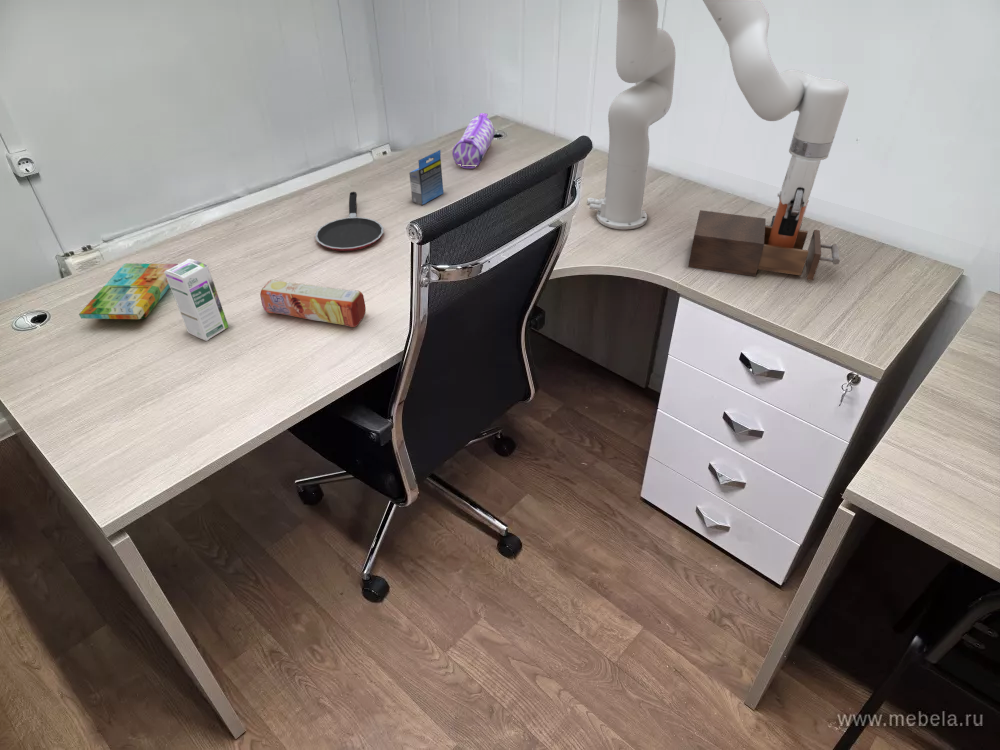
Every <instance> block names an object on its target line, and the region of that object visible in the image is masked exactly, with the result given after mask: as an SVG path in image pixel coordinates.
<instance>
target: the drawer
mask: <svg viewBox="0 0 1000 750" xmlns="http://www.w3.org/2000/svg"><path fill="white" fill-rule="evenodd" d="M771 229H772V226H771V225H765V238H764V246H763V250H762V254H761V258H760V262H759V265H758V269H757V270H760V271H767V272H773V273H780V274H786V275H787V274H788V275H793V276H800V277H801V276H802V274H803V271H804V268H805V266H806V280H809V281H814V278H815V276H816V272H817V270H818V267H819V263H820V261H823V262H829V263H832V264H833V265H835V266H836V265H838V264H840V253H839V252H840V251H839V250H840V249H839V245H838V244H837V243H833V244H831V245H830V244H823V243H821V230H820V229H813V231H812V236H811V238H810V240H809V241H810V242H809V244H808V248H807V249H804V246H805V243H806V239H807V236H808V230H805V229H804V230H803V229H800V230H799V233H798V236H797V239H796V242H795V246H794V248H787V247H780V246H772V245H767V242H768V239H769V235H770V232H771ZM822 249H828V250H830V251H831V252H830V253H831V257H826V256H822Z"/></svg>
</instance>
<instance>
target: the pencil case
mask: <svg viewBox="0 0 1000 750" xmlns="http://www.w3.org/2000/svg"><path fill="white" fill-rule="evenodd" d="M494 137H495V127H494V124H493V122H492V120H490V118H488V113H484V112H480V113H479V115H476V116H474V117H473V118H472V119H470V121H469V123H468V124H467V127H466V128H465V130H464V133H463V135H462V136H461V138H460V139H459V141H457V142H456V143H455V145H454V146H453V148H452V158H453V160H454V162H455V164H456V165H457V164H461V166H459V165H457V166H458V167H460V168H462V169H465V170H466V169H468V170H473V169H476V168H477V167H478V166H479V165H480V164H481V163H482V161H483V159H484V157H485V155H486V153H487V151H488V150H489V148H490V146H491V145H492V142H493V139H494ZM462 165H477V167H475V166H462Z"/></svg>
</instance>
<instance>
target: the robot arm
mask: <svg viewBox="0 0 1000 750" xmlns="http://www.w3.org/2000/svg"><path fill="white" fill-rule="evenodd" d="M702 2H703V3H704V5H705V7H706V9H707V10H708V12H709V14H710V15H711V16H712V18H713V20H714V22H715V24H716V25H717V28H718V29H719V31H720V32H721V35H722V36H723V38H724V40H725V41H726V44H727V46H728V52H729V59H730V62H731V67H732V70H733V75H734V78H735V81H736V83H737V86H738V88H739V89H740V91H741V94H742V95H743V97H744V98H745V100H746V102H747V103H748V105H749V107H750V108H751V109H752V110H753V112H754V113H755V114H756V116H758V117H759V118H760V119H762V120H765V121H767V122H778V121H780V120H782V119H784V118H786V117H787V116H788V115H790V114H791V113H793V112H798V116H797V120H796V124H795V126H794V127H795V128H794V131H793V135H792V138H791V142H790V145H789V149H788V153H789V154H790V155H791V157H790V160H789V164H788V166H787V170H786V173H785V176H784V178H783V181H782V184H781V190H780V191H781V203H782V204H787V208H786V212H785V216H783V217H782V221H781V224H780V227H779V231H778V234H779V235H786V236H794V233H795V230H796V227H797V224H798V221H799V215H800V211H801V207H804V206H806V204H807V202H808V200H809V198H810V197H811V193H812V190H813V187H814V184H815V181H816V177H817V174H818V171H819V168H820V164H821V161H823V160H826V159H827V158H829V155H830V153H831V152H830V151H831V149H832V146H833V143H834V139H835V137H836V133H837V130H838V127H839V124H840V121H841V117H842V115H843V112H844V109H845V105H846V102H847V99H848V96H849V91H850V90H849V86H848V85H847V84H846V83H845V82H843V81H842V80H839V79H834V78H825V77H824V78H822V77H819V76H817V75H816V76H815V75H813V74H810V73H808V72H805V71H803V70H800V69H786V70H784V71H782V72H780V73H779V71H778V69H777V68H776V66H775V63H774V62H773V59H772V57H771V54H770V50H769V46H768V45H769V44H768V32H769V28H770V27H769V26H770V14H769V11H768V9H767V8H766V6H765V5H764V3H763V2H762V0H702ZM616 22H617V23H616V42H615V43H616V45H615V47H616V48H615V68H616V73H617V75H618V77H619V78H620V79H621V81H623V82H625V83H628V84H635V85H633V86H631V87H629V88H626V89H625V90H623V91H622V92H620V93H619V94H618V95H616V96H615V98H614V99H613V100H612V102H611V103H610V106H609V109H608V114H607V120H608V121H607V123H608V133H609V135H608V137H609V138H608V155H607V166H606V167H607V168H606V178H605V189H604V197H600V198H594V197H587V201H586V206H589V209H590V210H597V212H596V219H597V221H598V223H600V224H601V225H603V226H604V227H607V228H610V229H615V230H624V231H625V230H634V229H639V228H640V227H642V226H644V225H645V224H646V223H647V221H648V214H647V212H646V211H645V210H644V209H643V204H644V195H645V189H646V182H647V175H648V174H647V172H648V167H649V157H650V138H649V127H650V126H653V125H654V124H655V123H656V122H658V121H660V120H661V119H662V118H664V117H665V116H666V115H667V114H668V112H669V110H670V108H671V107H672V101H673V96H674V95H673V94H674V83H675V70H676V69H675V68H676V47H675V43H674V40H673V38H672V36H671V35H670V34H669V32H668V31H666V30H665V29H663V28H660V27H658V23H659V6H658V1H657V0H617V21H616ZM791 200H792V201H794V203H790V202H791ZM808 203H809V202H808ZM790 206H791V207H792V210H790V211H789V209H790Z"/></svg>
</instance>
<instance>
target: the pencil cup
mask: <svg viewBox="0 0 1000 750" xmlns="http://www.w3.org/2000/svg"><path fill="white" fill-rule="evenodd" d="M809 202H810V201H809V199H808V202H807V204H806V206H804V207H801V211H800V215H799V221H798V224H797V227H796V230H795V233H794V236H786V235H779V234H778V231H779V227H780V224H781V221H782V217H783V216H785V212H786V208H787V204H782V203H781V197H780V201H779V200H778V205H777V208H776V212H775V215H774V216H775V218H774V222H773V225H772V229H771V232H770V235H769V239H768V242H767V245H772V246H780V247H787V248H794V246H795V242H796V239H797V236H798V233H799V230H801V228H802V225H801V224H803V221H804V217H805V214H806V211H807V207H808V205H809ZM790 203H794V201H792V200H791V202H790ZM790 210H792V207H791V206H790V209H789V211H790ZM800 227H801V228H800Z"/></svg>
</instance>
